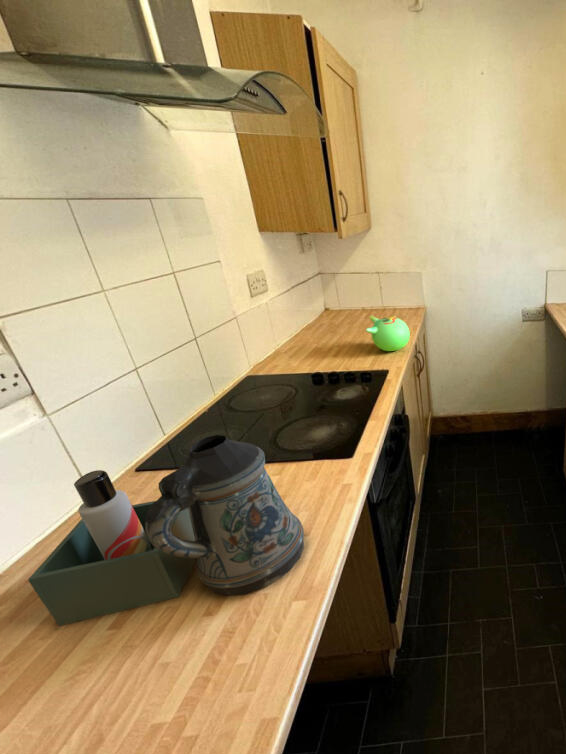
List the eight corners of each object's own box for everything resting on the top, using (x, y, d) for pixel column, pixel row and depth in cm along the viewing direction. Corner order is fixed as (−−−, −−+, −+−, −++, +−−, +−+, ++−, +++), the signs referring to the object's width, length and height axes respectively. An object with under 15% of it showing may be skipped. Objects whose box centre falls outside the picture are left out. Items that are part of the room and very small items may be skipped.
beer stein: (317, 521, 83) (288, 411, 73) (283, 607, 66) (238, 478, 56) (229, 531, 81) (187, 419, 71) (169, 622, 64) (101, 490, 54)
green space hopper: (411, 354, 174) (407, 320, 168) (369, 358, 170) (364, 323, 165) (411, 341, 190) (407, 310, 184) (372, 344, 186) (367, 312, 181)
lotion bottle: (152, 578, 70) (103, 481, 62) (110, 589, 68) (54, 491, 60) (163, 554, 75) (120, 461, 67) (125, 563, 73) (75, 469, 65)
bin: (58, 626, 63) (27, 579, 59) (109, 555, 76) (86, 513, 72) (178, 597, 68) (157, 552, 64) (207, 534, 80) (191, 494, 76)
